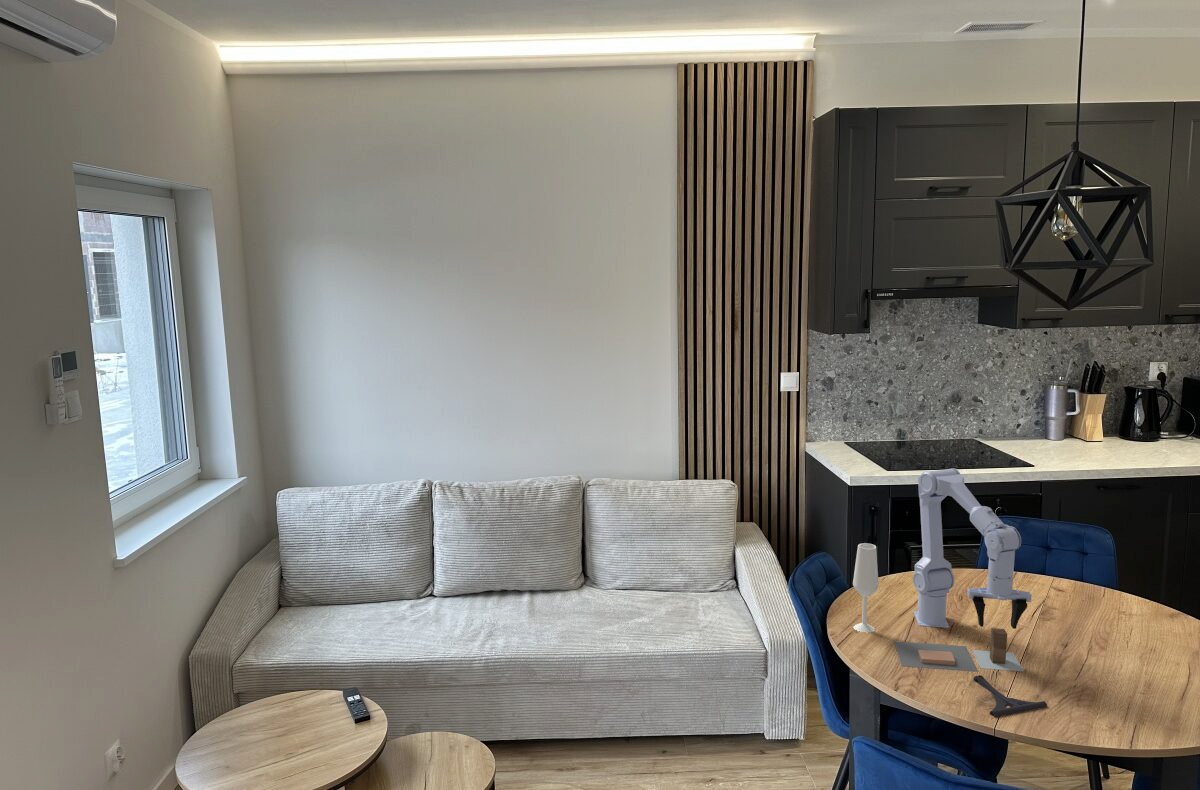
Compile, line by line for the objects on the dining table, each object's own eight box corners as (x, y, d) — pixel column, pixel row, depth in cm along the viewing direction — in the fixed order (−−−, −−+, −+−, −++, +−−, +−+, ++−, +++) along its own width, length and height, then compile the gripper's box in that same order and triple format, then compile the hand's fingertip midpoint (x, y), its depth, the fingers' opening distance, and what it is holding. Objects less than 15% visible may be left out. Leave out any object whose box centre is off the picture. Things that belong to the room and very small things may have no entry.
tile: (918, 649, 221) (921, 658, 216) (951, 651, 220) (955, 661, 215) (917, 653, 221) (921, 663, 217) (950, 656, 220) (954, 665, 215)
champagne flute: (872, 624, 240) (876, 542, 236) (879, 634, 234) (883, 550, 230) (848, 624, 240) (851, 542, 236) (854, 634, 234) (857, 550, 230)
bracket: (999, 679, 210) (1000, 668, 210) (1047, 709, 196) (1047, 698, 196) (950, 688, 206) (950, 678, 206) (994, 720, 192) (995, 709, 192)
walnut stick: (989, 657, 219) (991, 628, 218) (1002, 658, 218) (1004, 628, 217) (992, 663, 216) (994, 633, 215) (1005, 663, 215) (1007, 634, 214)
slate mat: (894, 642, 229) (894, 641, 229) (965, 647, 225) (965, 646, 225) (901, 667, 215) (901, 665, 215) (978, 673, 212) (978, 671, 212)
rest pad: (971, 651, 223) (971, 649, 223) (1012, 654, 221) (1013, 652, 221) (980, 669, 214) (980, 668, 214) (1023, 672, 212) (1024, 671, 212)
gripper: (973, 579, 212) (969, 630, 214) (1036, 582, 209) (1032, 635, 211) (966, 568, 219) (963, 618, 221) (1028, 571, 216) (1024, 622, 218)
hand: (997, 626), depth 217 cm, fingers open, 7 cm apart
